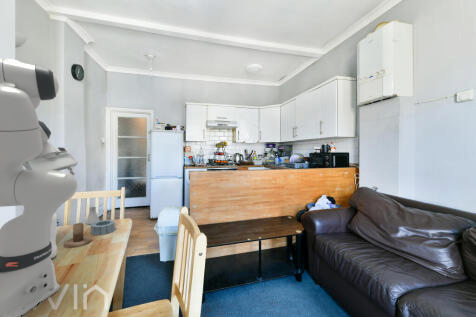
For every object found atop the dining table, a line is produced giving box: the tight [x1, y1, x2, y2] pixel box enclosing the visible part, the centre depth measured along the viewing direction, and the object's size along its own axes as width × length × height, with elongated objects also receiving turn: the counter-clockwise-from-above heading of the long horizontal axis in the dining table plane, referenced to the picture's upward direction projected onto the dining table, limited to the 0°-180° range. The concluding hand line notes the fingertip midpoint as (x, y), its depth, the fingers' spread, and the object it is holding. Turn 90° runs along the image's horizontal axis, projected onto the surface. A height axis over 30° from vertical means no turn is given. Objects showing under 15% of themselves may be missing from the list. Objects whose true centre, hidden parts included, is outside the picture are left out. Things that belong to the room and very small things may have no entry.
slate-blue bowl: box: [90, 219, 116, 236], centre depth 112 cm, size 11×11×4 cm
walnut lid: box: [63, 222, 93, 249], centre depth 98 cm, size 11×11×9 cm
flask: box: [85, 206, 101, 226], centre depth 124 cm, size 7×7×10 cm
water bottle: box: [50, 212, 58, 259], centre depth 82 cm, size 7×7×25 cm
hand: (64, 177), depth 96 cm, fingers open, 8 cm apart
